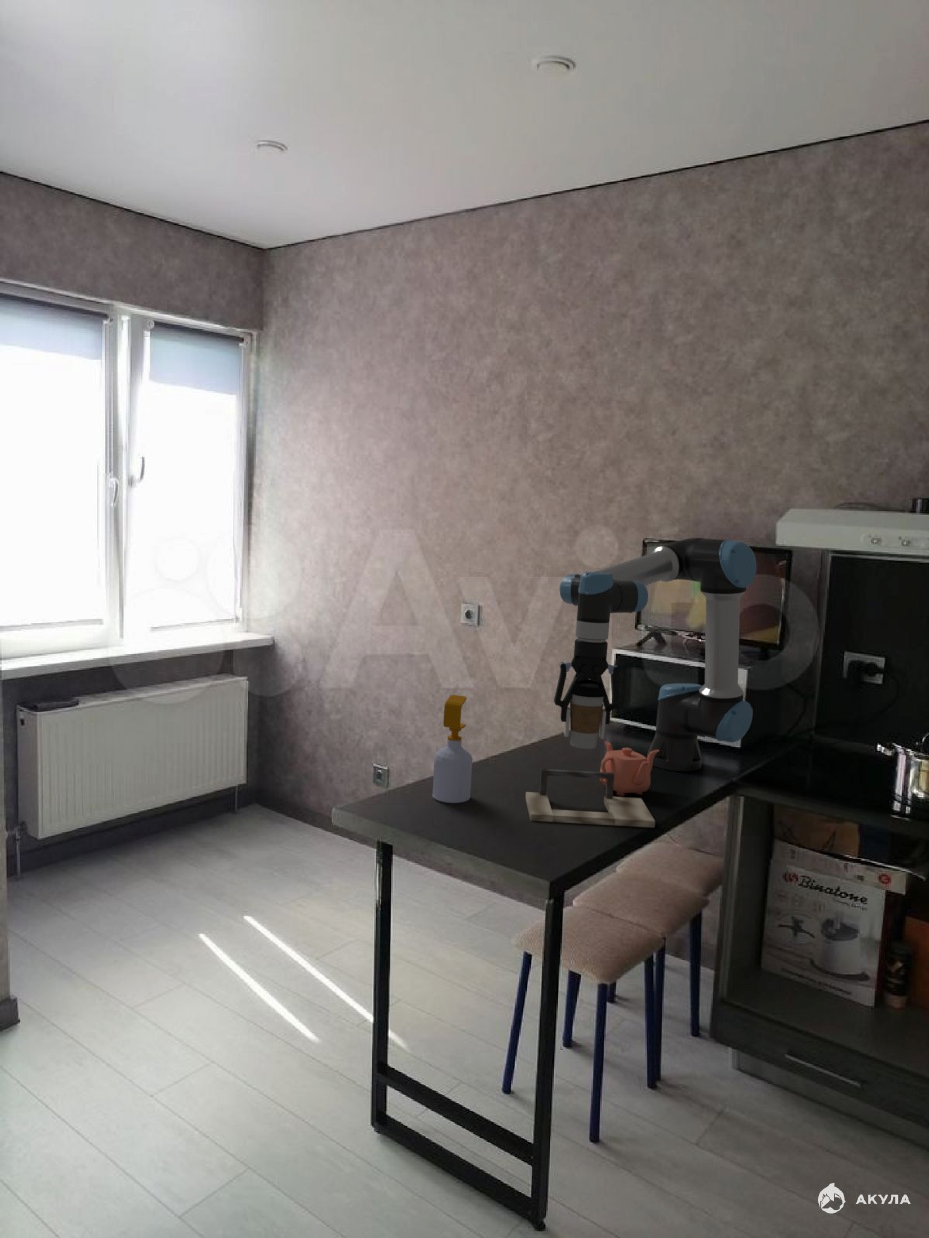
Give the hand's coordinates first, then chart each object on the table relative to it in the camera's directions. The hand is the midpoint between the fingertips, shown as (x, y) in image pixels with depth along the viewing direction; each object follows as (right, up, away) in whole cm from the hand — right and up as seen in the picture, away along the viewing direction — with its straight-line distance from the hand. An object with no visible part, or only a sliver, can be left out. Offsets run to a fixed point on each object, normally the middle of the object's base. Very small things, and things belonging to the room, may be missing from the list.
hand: (583, 736), depth 212 cm
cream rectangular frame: (+1, -18, +1) cm, 18 cm away
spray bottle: (-31, -16, +5) cm, 35 cm away
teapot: (+14, -17, +20) cm, 29 cm away
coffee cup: (0, -2, 0) cm, 2 cm away
